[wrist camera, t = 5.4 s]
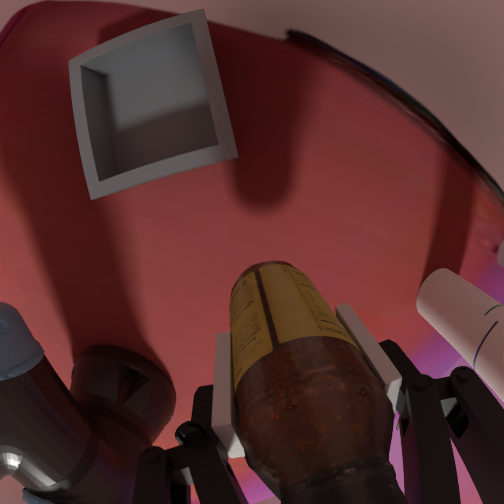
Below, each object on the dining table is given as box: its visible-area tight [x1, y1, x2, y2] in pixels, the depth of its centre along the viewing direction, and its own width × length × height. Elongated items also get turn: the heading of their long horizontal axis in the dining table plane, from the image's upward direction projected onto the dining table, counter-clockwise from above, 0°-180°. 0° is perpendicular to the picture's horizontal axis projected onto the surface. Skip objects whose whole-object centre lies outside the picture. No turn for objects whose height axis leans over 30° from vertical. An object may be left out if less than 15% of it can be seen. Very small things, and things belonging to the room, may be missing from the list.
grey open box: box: [69, 9, 238, 200], centre depth 20 cm, size 12×13×6 cm
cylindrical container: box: [416, 268, 504, 402], centre depth 19 cm, size 7×7×25 cm
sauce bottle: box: [230, 261, 408, 504], centre depth 12 cm, size 7×6×20 cm
